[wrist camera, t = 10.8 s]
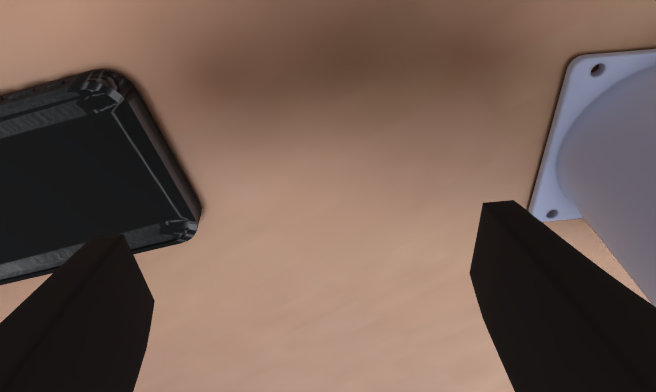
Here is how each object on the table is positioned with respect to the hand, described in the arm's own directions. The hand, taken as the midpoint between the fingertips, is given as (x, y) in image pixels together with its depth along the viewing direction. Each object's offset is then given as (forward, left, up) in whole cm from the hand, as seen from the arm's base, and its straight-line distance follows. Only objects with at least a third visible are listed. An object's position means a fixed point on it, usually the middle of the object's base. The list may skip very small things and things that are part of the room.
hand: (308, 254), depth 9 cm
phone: (+13, +4, -9) cm, 17 cm away
